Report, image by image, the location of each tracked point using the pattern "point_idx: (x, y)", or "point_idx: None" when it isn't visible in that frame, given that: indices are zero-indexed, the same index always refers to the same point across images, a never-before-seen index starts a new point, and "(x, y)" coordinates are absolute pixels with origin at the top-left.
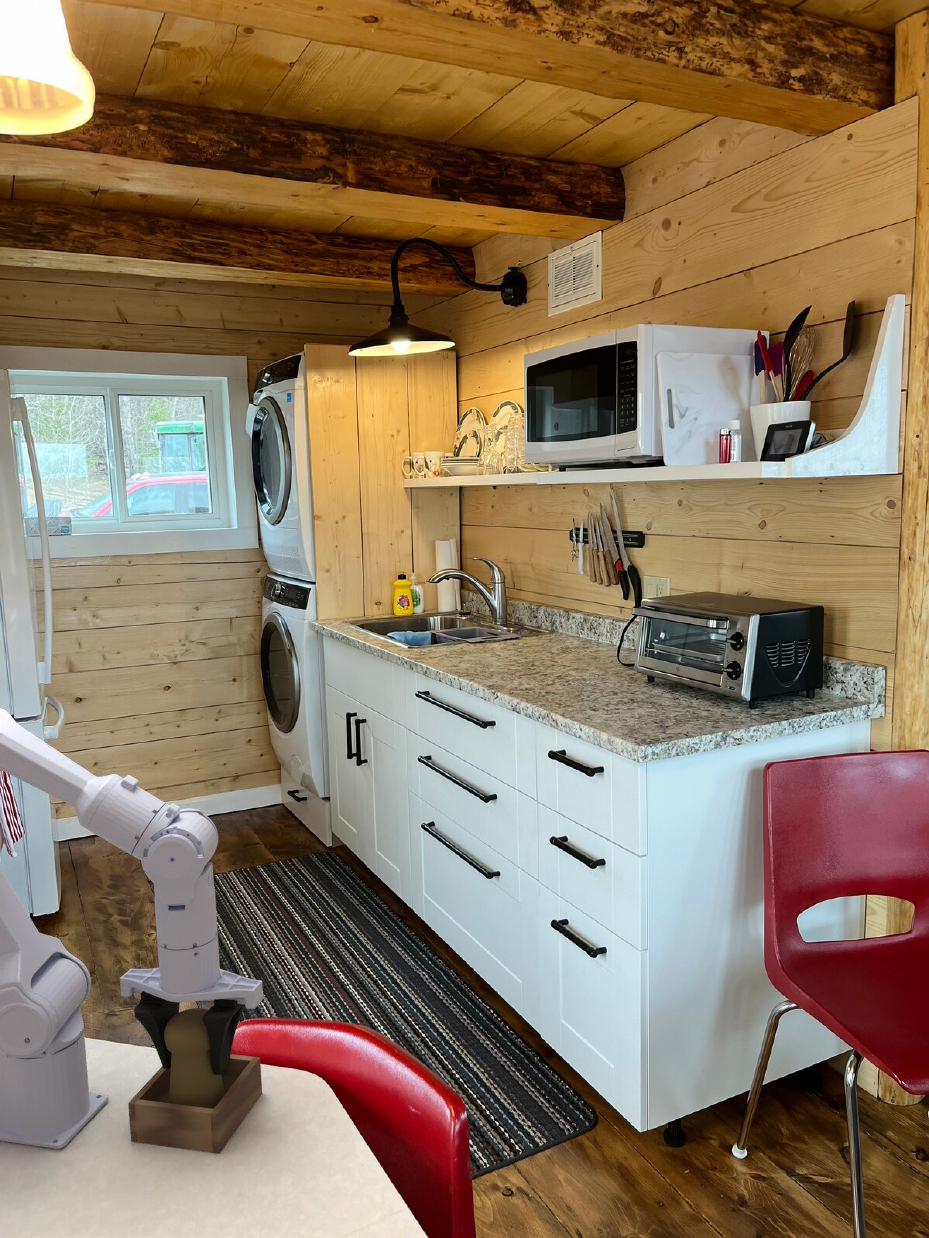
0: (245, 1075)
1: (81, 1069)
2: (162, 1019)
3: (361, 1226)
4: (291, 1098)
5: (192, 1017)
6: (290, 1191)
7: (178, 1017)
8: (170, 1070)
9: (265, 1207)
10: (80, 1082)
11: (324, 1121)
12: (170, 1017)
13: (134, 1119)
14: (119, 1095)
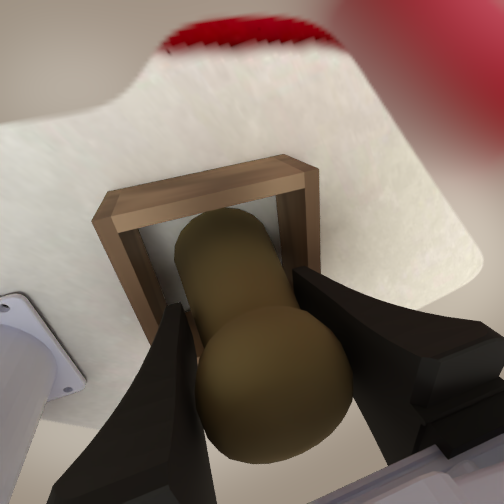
0: (318, 234)
1: (6, 434)
2: (205, 471)
3: (456, 288)
4: (337, 146)
5: (308, 436)
6: (390, 288)
7: (259, 452)
8: (138, 270)
9: None
10: (23, 412)
11: (400, 177)
12: (193, 426)
13: None
14: (23, 271)
